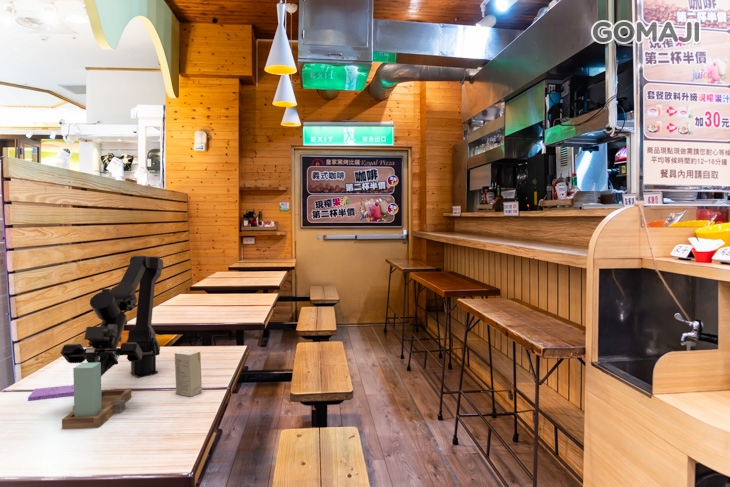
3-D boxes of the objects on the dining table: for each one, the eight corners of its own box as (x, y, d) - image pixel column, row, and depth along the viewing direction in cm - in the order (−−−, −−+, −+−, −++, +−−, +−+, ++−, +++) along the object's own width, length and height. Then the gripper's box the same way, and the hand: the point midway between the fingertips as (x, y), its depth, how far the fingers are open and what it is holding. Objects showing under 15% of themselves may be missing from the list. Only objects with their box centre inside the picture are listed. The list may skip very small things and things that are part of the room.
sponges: (78, 397, 134) (78, 390, 134) (26, 403, 129) (26, 396, 129) (84, 389, 140) (83, 383, 140) (34, 394, 136) (34, 388, 136)
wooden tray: (94, 398, 131) (94, 389, 131) (137, 397, 132) (137, 388, 132) (55, 429, 111) (54, 418, 111) (105, 427, 113) (105, 416, 112)
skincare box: (202, 392, 136) (201, 351, 136) (191, 397, 132) (190, 355, 132) (186, 389, 139) (185, 348, 139) (174, 393, 135) (174, 352, 135)
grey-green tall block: (83, 413, 118) (82, 362, 117) (101, 412, 118) (100, 362, 118) (74, 420, 113) (73, 368, 113) (93, 419, 114) (92, 367, 113)
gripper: (63, 313, 122) (39, 368, 111) (137, 312, 124) (121, 365, 113) (79, 336, 130) (58, 389, 119) (148, 335, 132) (134, 386, 121)
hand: (92, 382), depth 118 cm, fingers closed
